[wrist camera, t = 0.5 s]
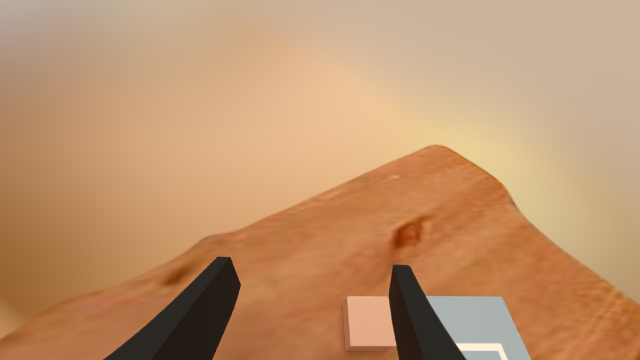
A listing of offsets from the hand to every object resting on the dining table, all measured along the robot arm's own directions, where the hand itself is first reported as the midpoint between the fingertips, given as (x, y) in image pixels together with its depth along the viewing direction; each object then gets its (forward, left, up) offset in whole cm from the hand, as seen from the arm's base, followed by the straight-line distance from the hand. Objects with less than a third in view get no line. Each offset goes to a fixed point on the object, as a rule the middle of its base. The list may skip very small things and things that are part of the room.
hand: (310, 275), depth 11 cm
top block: (+1, -6, -18) cm, 19 cm away
